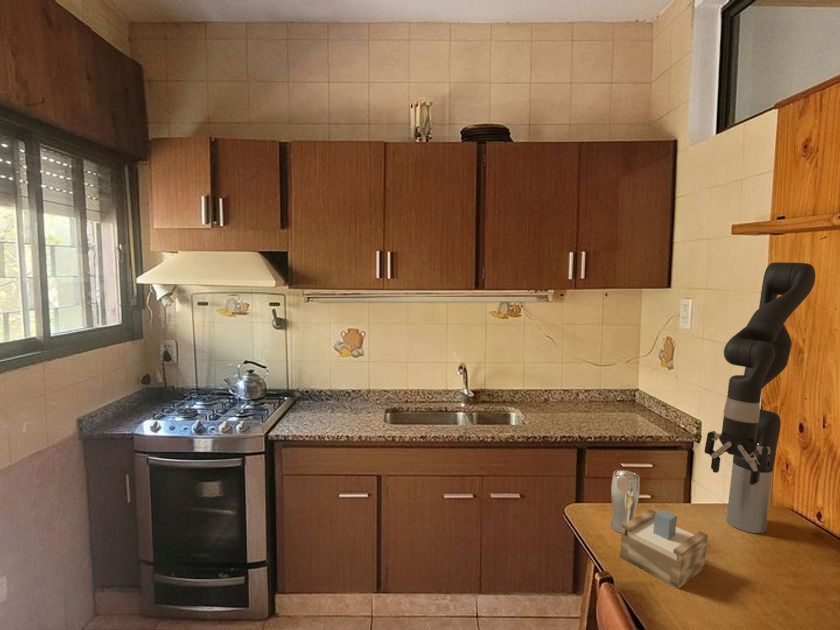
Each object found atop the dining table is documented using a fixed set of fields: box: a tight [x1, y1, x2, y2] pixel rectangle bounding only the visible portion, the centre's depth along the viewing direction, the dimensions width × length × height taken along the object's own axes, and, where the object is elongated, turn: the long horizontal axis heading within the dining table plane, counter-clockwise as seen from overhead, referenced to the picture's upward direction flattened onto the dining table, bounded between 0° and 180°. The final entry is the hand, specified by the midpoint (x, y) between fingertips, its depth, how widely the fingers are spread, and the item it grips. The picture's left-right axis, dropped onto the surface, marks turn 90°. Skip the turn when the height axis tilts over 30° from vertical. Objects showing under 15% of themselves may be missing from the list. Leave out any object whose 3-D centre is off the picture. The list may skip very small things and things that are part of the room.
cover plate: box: [627, 509, 695, 560], centre depth 116 cm, size 12×12×6 cm
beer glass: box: [609, 469, 641, 534], centre depth 131 cm, size 7×7×15 cm
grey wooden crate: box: [619, 509, 709, 589], centre depth 116 cm, size 13×14×8 cm
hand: (733, 477), depth 125 cm, fingers open, 8 cm apart
